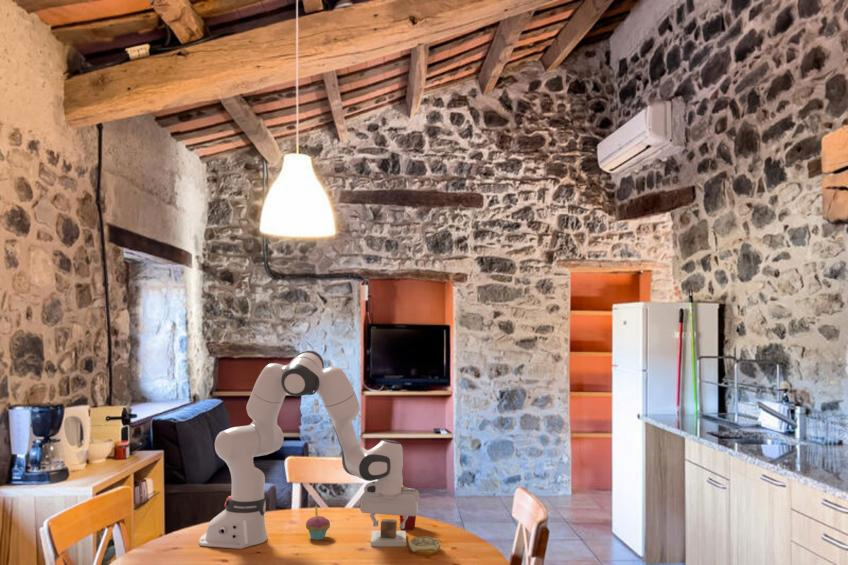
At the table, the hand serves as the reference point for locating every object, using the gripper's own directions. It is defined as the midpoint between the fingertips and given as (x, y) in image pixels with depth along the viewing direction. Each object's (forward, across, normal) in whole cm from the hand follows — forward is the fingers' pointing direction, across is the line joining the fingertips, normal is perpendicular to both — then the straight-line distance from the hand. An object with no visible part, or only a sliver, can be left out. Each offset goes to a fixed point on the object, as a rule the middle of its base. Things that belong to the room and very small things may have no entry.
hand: (388, 527), depth 229 cm
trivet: (+5, 0, 0) cm, 5 cm away
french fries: (+5, -3, -15) cm, 16 cm away
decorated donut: (+5, -14, +7) cm, 16 cm away
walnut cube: (+3, 0, 0) cm, 3 cm away
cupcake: (+5, +25, +2) cm, 26 cm away
